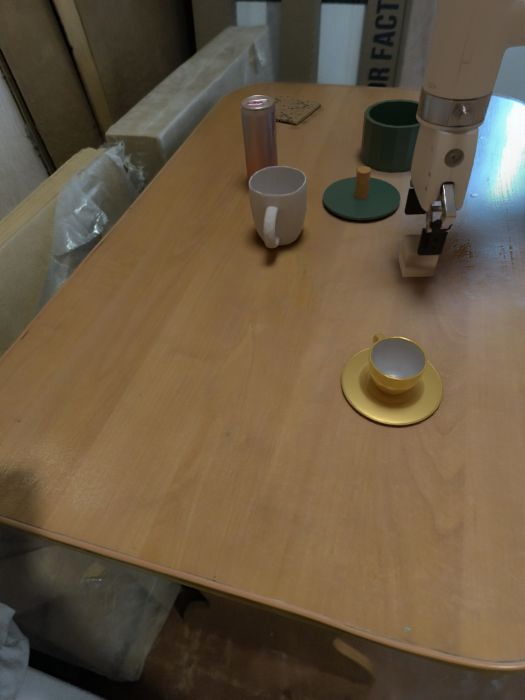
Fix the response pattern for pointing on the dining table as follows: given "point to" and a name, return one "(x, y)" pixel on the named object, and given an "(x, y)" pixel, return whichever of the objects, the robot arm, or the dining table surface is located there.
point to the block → (415, 258)
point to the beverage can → (259, 133)
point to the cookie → (293, 109)
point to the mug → (278, 204)
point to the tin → (390, 135)
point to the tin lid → (361, 197)
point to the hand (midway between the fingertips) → (421, 232)
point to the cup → (392, 381)
